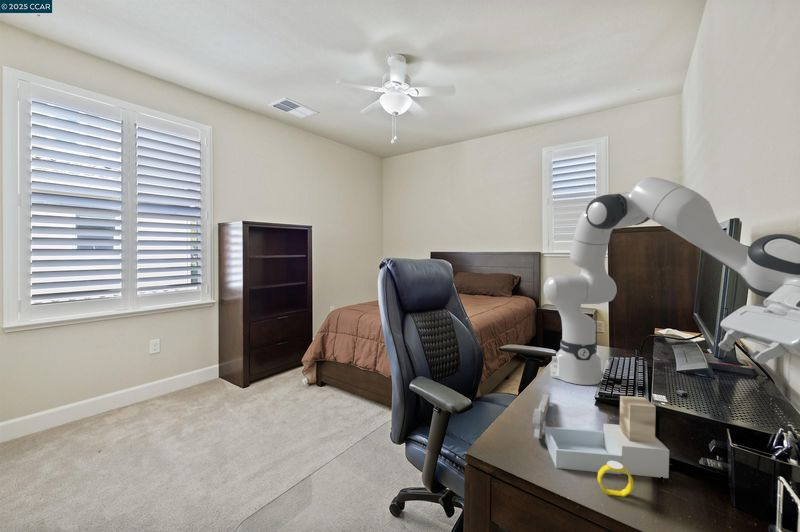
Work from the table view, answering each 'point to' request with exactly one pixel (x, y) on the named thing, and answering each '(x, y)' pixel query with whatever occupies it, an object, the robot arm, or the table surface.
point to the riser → (637, 453)
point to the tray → (578, 449)
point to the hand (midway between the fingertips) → (738, 354)
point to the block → (637, 419)
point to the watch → (616, 468)
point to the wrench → (540, 416)
